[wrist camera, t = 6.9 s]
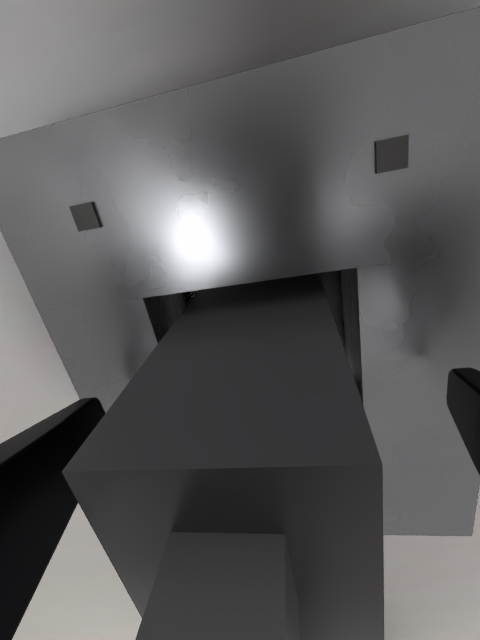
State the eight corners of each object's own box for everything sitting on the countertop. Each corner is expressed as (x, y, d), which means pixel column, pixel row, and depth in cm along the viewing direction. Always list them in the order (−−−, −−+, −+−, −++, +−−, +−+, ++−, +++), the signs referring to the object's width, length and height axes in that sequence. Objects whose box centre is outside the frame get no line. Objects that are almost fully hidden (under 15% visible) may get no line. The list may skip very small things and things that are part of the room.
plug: (326, 368, 12) (411, 782, 4) (225, 377, 13) (118, 736, 5) (317, 267, 11) (425, 596, 2) (203, 283, 11) (-15, 573, 3)
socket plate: (434, 462, 13) (473, 538, 11) (167, 469, 16) (141, 534, 13) (462, 50, 8) (558, -18, 5) (47, 155, 10) (-42, 148, 7)
